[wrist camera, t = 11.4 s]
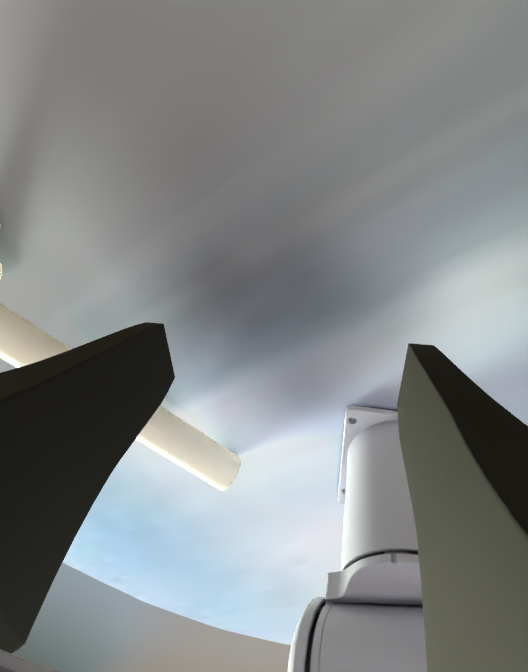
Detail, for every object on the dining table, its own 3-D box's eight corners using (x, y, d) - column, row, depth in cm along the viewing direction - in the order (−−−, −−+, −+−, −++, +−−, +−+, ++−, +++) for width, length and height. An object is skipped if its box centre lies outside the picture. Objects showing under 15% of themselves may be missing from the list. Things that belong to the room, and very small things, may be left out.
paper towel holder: (-373, 123, 13) (255, 505, 21) (-127, 119, 21) (274, 405, 28) (-314, 282, 18) (181, 547, 26) (-132, 234, 25) (213, 452, 33)
